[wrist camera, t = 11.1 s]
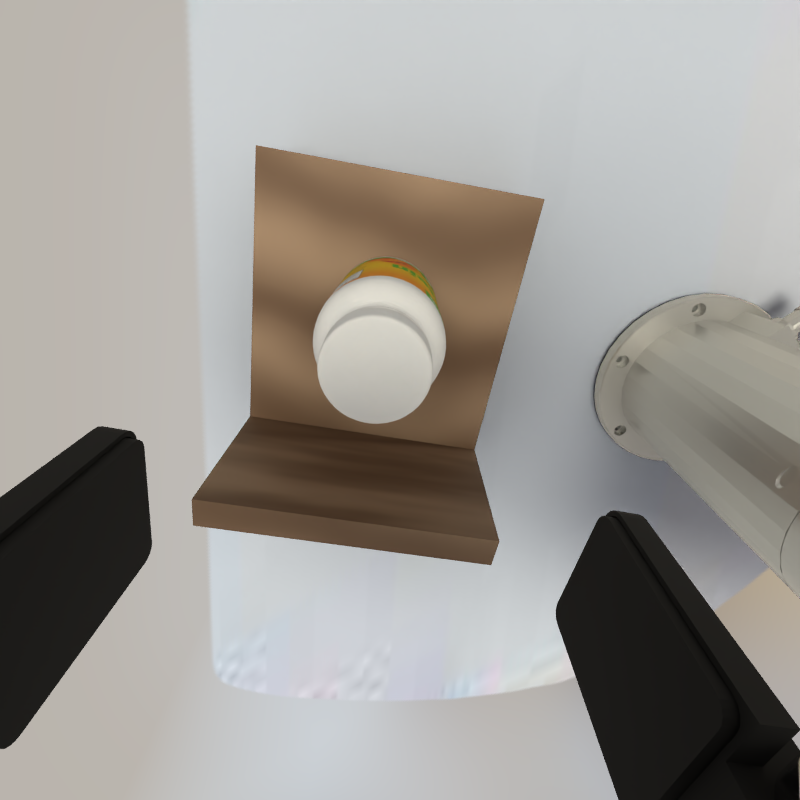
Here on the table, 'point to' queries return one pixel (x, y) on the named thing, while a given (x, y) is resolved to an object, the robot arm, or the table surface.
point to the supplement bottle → (379, 341)
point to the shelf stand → (297, 369)
